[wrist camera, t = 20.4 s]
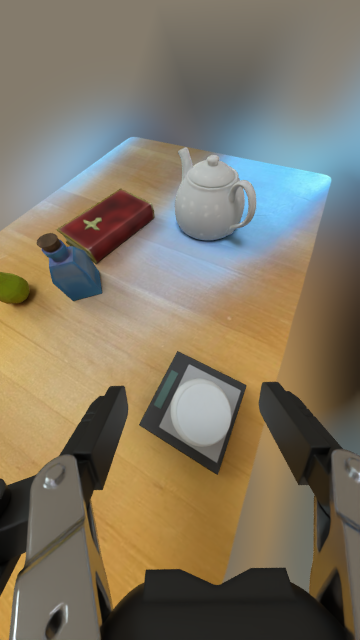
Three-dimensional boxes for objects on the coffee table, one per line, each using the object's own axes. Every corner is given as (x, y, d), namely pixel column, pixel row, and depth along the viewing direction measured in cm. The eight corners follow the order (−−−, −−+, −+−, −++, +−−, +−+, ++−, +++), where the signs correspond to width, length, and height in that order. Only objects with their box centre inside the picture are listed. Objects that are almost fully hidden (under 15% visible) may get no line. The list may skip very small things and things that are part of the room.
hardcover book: (155, 218, 47) (152, 202, 43) (96, 264, 40) (87, 250, 36) (125, 203, 50) (120, 187, 46) (66, 243, 43) (55, 228, 40)
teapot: (166, 242, 43) (159, 179, 30) (179, 199, 50) (178, 135, 38) (241, 250, 41) (265, 187, 29) (243, 205, 49) (263, 139, 36)
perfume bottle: (72, 279, 38) (27, 232, 28) (99, 272, 39) (66, 223, 28) (73, 301, 36) (25, 258, 25) (102, 293, 37) (67, 248, 26)
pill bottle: (165, 409, 24) (152, 417, 14) (191, 375, 26) (196, 360, 16) (200, 443, 22) (213, 479, 12) (225, 403, 24) (254, 406, 14)
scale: (241, 386, 28) (248, 385, 25) (214, 468, 23) (218, 477, 21) (178, 354, 30) (177, 350, 28) (142, 422, 26) (137, 425, 23)
